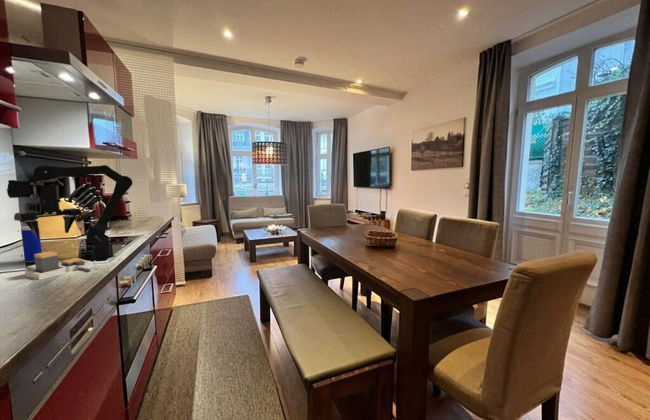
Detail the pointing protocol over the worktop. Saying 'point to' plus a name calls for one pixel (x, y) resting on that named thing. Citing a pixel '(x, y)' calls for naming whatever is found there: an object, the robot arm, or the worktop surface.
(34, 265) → the tray
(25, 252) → the beverage can
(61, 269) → the two-cubby shelf
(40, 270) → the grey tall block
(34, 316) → the worktop surface
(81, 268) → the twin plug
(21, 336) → the worktop surface
